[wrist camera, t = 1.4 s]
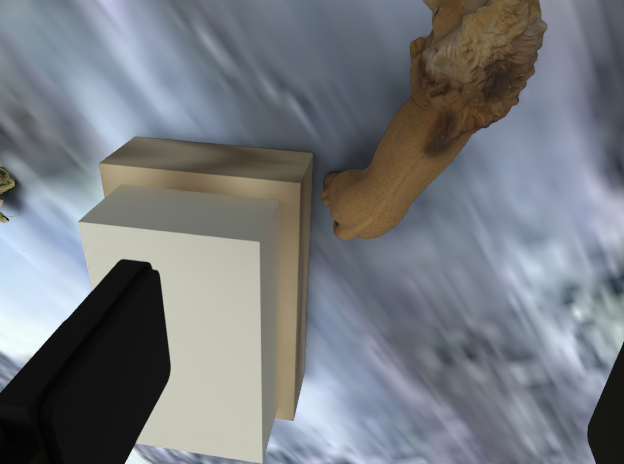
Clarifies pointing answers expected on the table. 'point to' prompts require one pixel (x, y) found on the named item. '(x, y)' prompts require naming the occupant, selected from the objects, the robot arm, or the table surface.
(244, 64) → the table surface
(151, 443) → the cream brick
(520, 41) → the lion figurine
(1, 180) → the figurine
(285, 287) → the oak base brick
